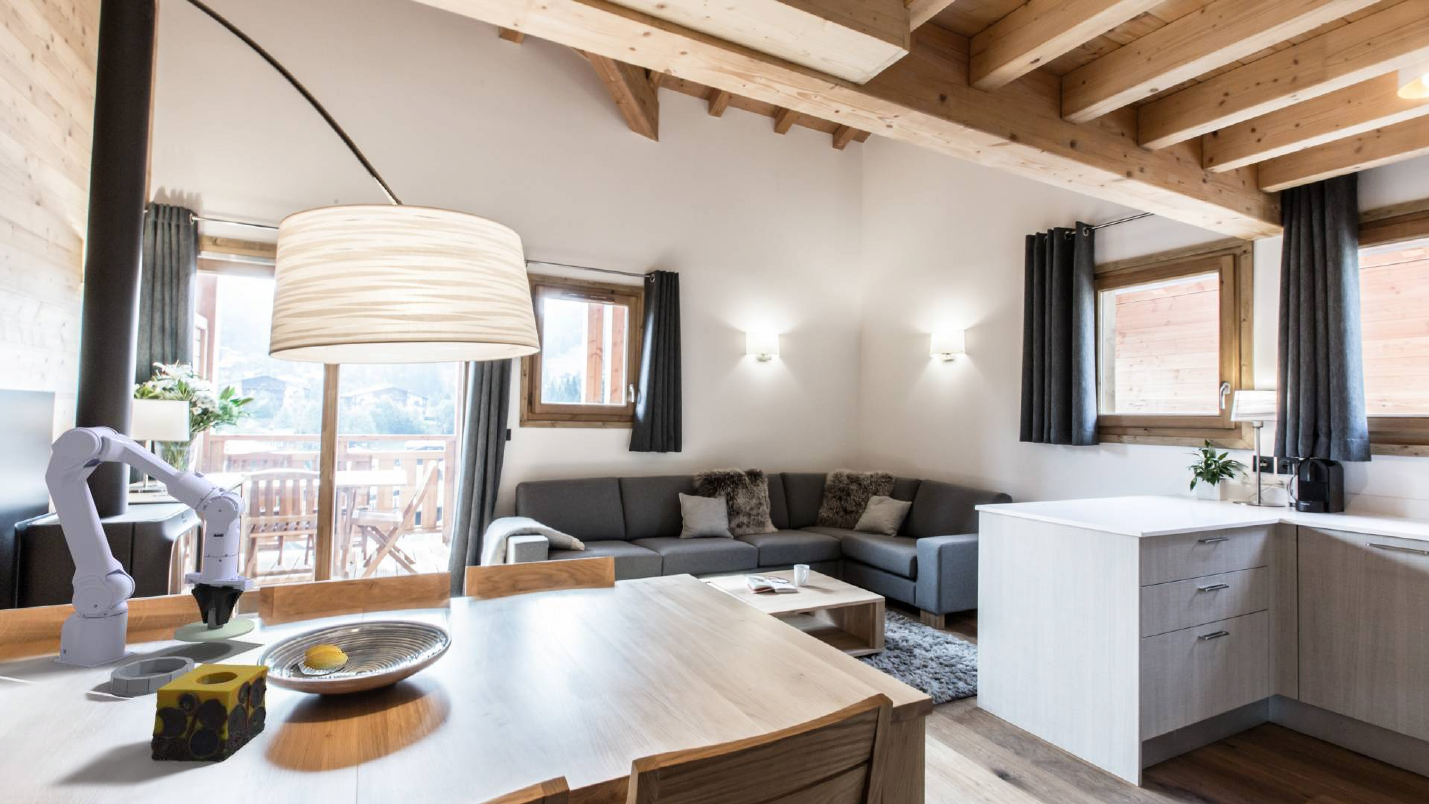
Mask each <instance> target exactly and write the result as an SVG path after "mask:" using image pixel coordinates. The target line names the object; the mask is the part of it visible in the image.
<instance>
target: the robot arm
mask: <svg viewBox="0 0 1429 804" xmlns="http://www.w3.org/2000/svg"><path fill="white" fill-rule="evenodd" d="M50 446H51V451H52V454H51V456H50V460H49V462H48V466H47V469H46V472H45V474H44V478H45V479H44V480H45V484H46V485H47V489H48V492H49V495H50V499H51V501H52V502H53V507H54V509H55V512H56V515H57V517H58V520H59V523H60V526H61V528H62V531H63V535H64V537H65V541H66V544H67V546H68V549H69V551H70V555H71V557H72V560H73V563H74V565H75V571H74V575H73V577H72V581H71V584H72V586H73V595H72V598H71V599H72V600H71V603H72V606H73V608H74V610H75V612H73V613H72V614H70V615H69V616H68V617H67V618H66V619H65V621H64V622H63V625H62V627H61V632H60V634H61V635H60V648H59V657H58V658H55V659H54V660H53V662H54V663H58V664H59V663H60V664H65V665H72V666H78V667H84V668H92V669H93V668H98V667H101V666H104V665H107V664H110V663H113V662H114V663H115V662H116V661H120V660H123V659H126V658H129V657H133V656H136V655H137V654H138V652H137V651H131V650H126V642H127V631H128V630H127V628H128V617H129V616H128V615H129V604H128V603H127V600H128V599H130V598H131V597H132V595H133V594H134V592H135V590H136V589H135V588H136V584H135V580H134V579H133V577H132V576H131V575H130V574H128V573H127V572H126V571H125V569H124V567H123V565H122V563H121V562H120V561H119V560H118V559H116V558H114V556H113V554H112V551H111V547H110V545H109V543H108V539H107V536H106V533H105V531H104V528H103V525H102V523H101V519H100V516H99V514H98V510H97V507H96V504H95V501H94V498H93V496H92V493H91V490H90V488H89V487H90V486H89V484H88V481H87V479H88V478H89V476H90V475H92V473H93V472H94V471H95V470H96V469H97V467H98V466H99V465H101V464H102V463H104V462H111V463H125V464H127V465H128V466H130V467H133V469H136V470H138V471H139V472H142V473H144V474H146V475H147V476H149V477H151V478H152V479H155V480H157V481H158V482H160V483H163V484H164V485H165V487H166V491H167V495H168V496H170V497H172V498H174V499H176V500H177V501H180V502H181V503H182V504H184V505H186V506H188V507H189V508H190V509H193V510H195V511H196V512H198V513H201V514H202V518H203V519H204V521H205V522H206V527H205V532H204V541H203V543H204V544H203V556H202V557H203V558H202V568H201V572H196V571H195V572H190V573H184V585H190V584H193V585H197V586H196V587H194V588H191V592H190V593H191V595H192V596H193V597H194V599H195V600H196V603H197V605H198V608H199V611H200V617H201V621H203V623H204V624H206V623H208V611H209V609H212V608H215V609H216V613H215V621H216V625H218V626H219V625H223V624H226V623H228V621H229V619H230V618H231V615H232V613H233V610H234V607H235V606H236V604H237V602H238V601H239V598H241V596H242V594H244V592H247V591H250V590H253V589H254V581H255V579H254V578H248V577H245V576H243V575H241V573H240V572H238V564H239V563H238V562H239V552H240V551H239V550H240V540H241V539H240V538H241V528H240V527H241V518H240V517H241V516H242V515H243V514H244V512H245V510H246V504H245V503H246V502H245V500H244V499H243V498H242V496H240V495H239V494H238V493H237V492H234V491H233V492H232V491H227V490H228V489H227V488H226V487H225V486H218V485H217V484H215V483H213V482H212V481H210V480H208V478H205V476H206V474H205V473H204V472H202V471H196V472H195V471H193V470H191V469H189V470H188V469H187V470H184V471H180V470H178V469H177V468H175V467H174V466H173V465H171V464H170V463H168V462H166V461H165V460H163V458H160V457H159V456H158V455H156V454H154V453H153V452H151V451H150V450H148V449H147V448H146V447H143V446H142V445H141V444H139V443H137V442H136V441H135V440H134V439H133V438H130V437H129V436H128V435H125V434H123V433H119V432H118V431H116V430H115V429H113V428H111V427H108V426H95V427H82V426H81V427H79V426H78V427H73V428H69V429H67V430H66V431H64V432H63V433H62V434H61V435H60V436H59V437H58V438H57V439H56V440H55V441H53V443H51V445H50Z"/></svg>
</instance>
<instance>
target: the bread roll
mask: <svg viewBox="0 0 1429 804" xmlns="http://www.w3.org/2000/svg"><path fill="white" fill-rule="evenodd" d="M341 650H342V649H340V647H338V646H335V645H332V644H319V645H315V646H313V647H310V648H308V649H307V650H306V651H305V652H306V653H305V652H304V653H305V656H306V658H307V659H306V660H305V661H304V663H303V664H304V665H305V666H306V667H310V668H312V669H315V670H328V669H333V668H337V667H340V666H342V665H343V664H345V663H346V661H347V659H348V660H349V657H348V656H347V654H346V653H345V652H344V653H342V651H343V650H342V651H341Z"/></svg>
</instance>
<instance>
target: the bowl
mask: <svg viewBox="0 0 1429 804" xmlns="http://www.w3.org/2000/svg"><path fill="white" fill-rule="evenodd" d="M195 665H196V662H194V661H193V660H192V659H191V658H186V657H179V656H178V657H177V656H174V657H153V658H152V657H151V658H146V659H141V660H136V661H133V662H130V663H126V664H124V665H120V666H118V667H117V668H115V669H114V670H113V671H111V672H110V679H109V681H110V682H109V687H110V693H111V695H112V696H115V697H117V698H128V699H129V698H130V699H131V698H135V697H133V696H145V695H152V694H157V690H158V689H159V688H161V687H163V686H164V685H166V684H168V683H170V682H172V681H173V680H175V679H177V678H179V677H181V676H183V675H184V674H186V673H188V672H189V671H191V670H193V669H195V668H196V667H195Z"/></svg>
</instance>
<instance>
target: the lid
mask: <svg viewBox="0 0 1429 804" xmlns="http://www.w3.org/2000/svg"><path fill="white" fill-rule="evenodd" d="M215 613H216V609H215V608H212V609H209V611H208V623H206V624H204V623H203V621H202V620H200V621H196V622H192V623H188V624H187V623H186V624H184V625H181V626H179V627H178V628H176V629H175V630H174V631H173V634H172V635H173V639H174V640H176V641H178V642H179V641H180V642H186V643H203V642H209V641H218V640H225V639H228V640H231V639H234V638H237V637H241V636H244V635H247V634H249V633H251V632H252V631H254V630H255V627H256V626H255V625H256V624H255V621H253V620H251V619H247V618H241V617H238V618H237V617H236V618H235V617H230V619H229V621H228V623H226V624H223V625H219V626H218V625H216V621H215Z"/></svg>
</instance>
